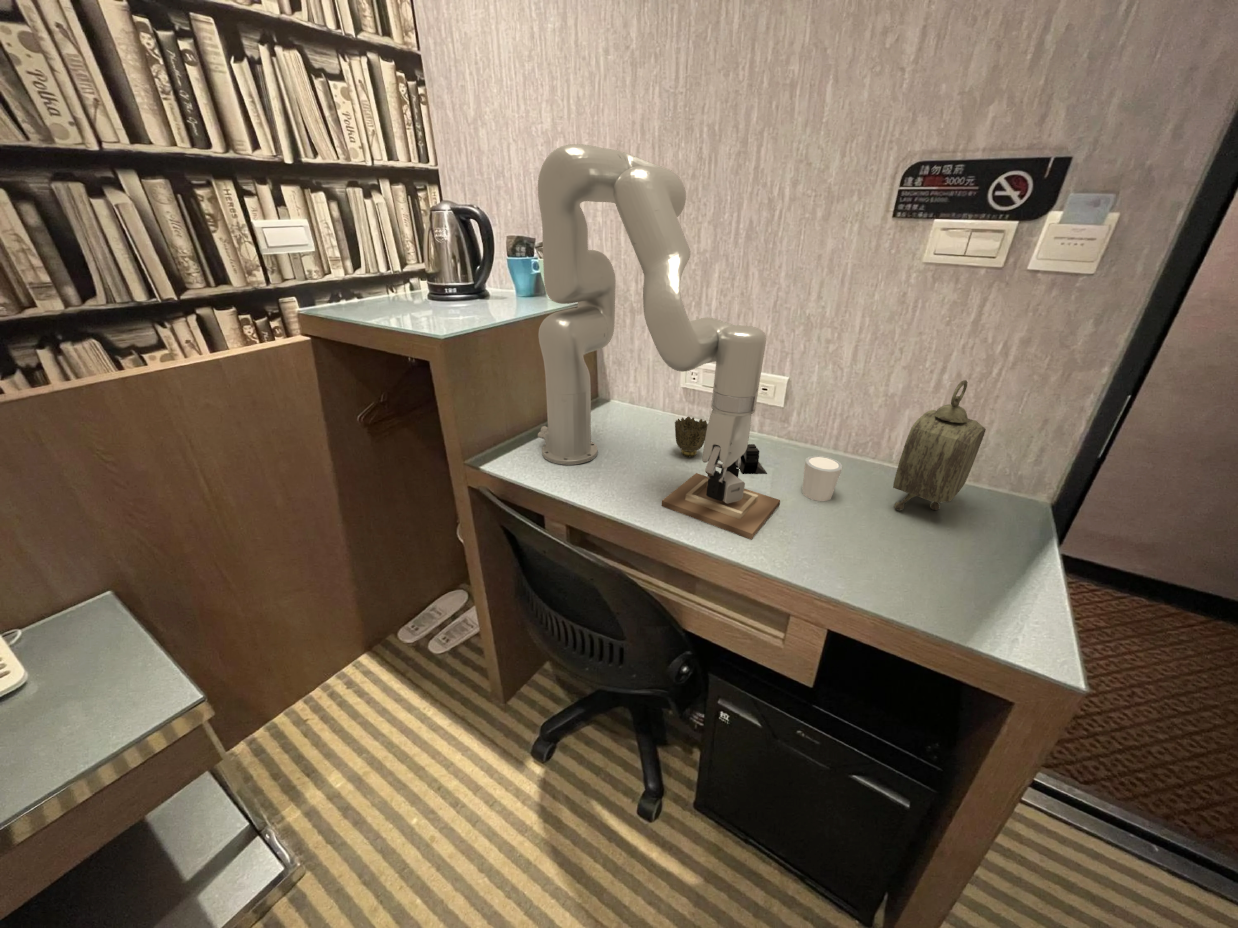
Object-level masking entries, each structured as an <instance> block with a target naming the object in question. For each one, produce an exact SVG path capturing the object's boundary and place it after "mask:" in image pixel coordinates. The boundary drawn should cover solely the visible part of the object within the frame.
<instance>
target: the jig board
mask: <svg viewBox="0 0 1238 928" xmlns="http://www.w3.org/2000/svg"><path fill="white" fill-rule="evenodd" d="M707 485H708V475H707V476H706V475H704V474H701V473H698V472H695V473H694V474H693V475H692V476H691V477H689V478H687V480H685V481H684V482H683V483H682V484H681V485H679V486H678V487H677V488H675V490H673V491H672V492H670V494H668V495H667V496H666V497H664V498H663V499H662V500H661V507H663V508H665V509H668V510H671V511H674V512H676V513H679V514H681V515H684V516H687V517H689V518H692V519H694V520H697V521H701V522H703V523H706V524H709V525H711V526H712V527H713V526H714V527H716V528H719V529H721V530H725V531H727V532H730V533H733V534H735V535H738V536H741V537H743V538H746V539H748V540H752V539H753V538H754V537H755V536H756V535H757V533H758V532H759V531H760V530H761V528H762V527H763V526H764V525H765V523H766V522H767V521H768V520H769V519H770V518H771V516H772V515H773V514H774V513H775V512H776V510H777V509H778V508H779V507H780V503H781V499H779V498H775V497H772V496H770V495H769V496H768V495H766V494H763V493H760V492H756V491H753V490H750V489H747V488H745V487H744V493H743V498H742V499H741V500H739V501H736V502H732V503H728V504H727V503H725V502H724V501H723V500H722V501H719V500H716V499H713V498H710V497H708V496H707V495H706V493H707Z"/></svg>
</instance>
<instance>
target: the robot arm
mask: <svg viewBox="0 0 1238 928" xmlns="http://www.w3.org/2000/svg"><path fill="white" fill-rule="evenodd" d="M541 165H542V166H541V168H540V171H539V175H538V178H537V197H538V199H537V200H538V204H539V211H540V218H541V227H542V229H541V230H542V261H543V264H542V265H543V283H544V289H545V292H546V294H547V297H548V298H549V299H550V300H551V301H553V302H554V303H557V304H561V305H566V304H567V305H568V304H574V303H575V304H576V303H577V307H573V308H568V309H564V310H559V311H556V312H553V313H550V314H549V315H548V316H546V317H545V318H544V319H543V320H542V322H541V323H540V326H539V328H538V343H539V347H540V351H541V355H542V360H543V365H544V374H545V375H544V377H545V391H546V413H547V416H546V417H547V426H546V425H544V426H543V425H542V426H541V428H540V431H539V432H538V433H537V438H540V439H543V440H544V442H545V443H544V445H543V447H542V448H541V452H542V453H541V454H542V457H543V458H544V459H545V460H546V461H549V462H550V463H554V464H556V465H567V466H568V465H569V466H571V465H581V464H584V463H588V462H590V461H592V460H593V459H595V458H596V457H597V455H598V453H599V452H598V446H597V444H596V443H594V442H593V441H592V426H591V425H592V420H591V419H592V417H591V416H592V415H591V413H592V411H591V409H592V403H591V402H592V400H591V399H592V397H591V395H592V394H591V393H592V391H591V388H592V387H591V374H590V371H589V368H588V366H587V364H586V361H585V358H584V356H585V355H587V354H589V353H591V352H592V353H593V352H596V351H599V350H601V349H603V348H605V347H606V346H607V345H608V344H610V342H611V341H612V340H613V339H612V338H613V335H614V331H615V323H616V321H615V318H616V288H617V287H616V284H617V283H616V274H615V270H614V266H613V264H612V262H611V260H610V259H609V257H607V255H606V254H604V253H603V252H601V251H599V250H597V249H596V250H594V249H589V244H588V243H589V242H588V241H589V229H588V223H587V220H586V217H585V214H584V211H583V210H582V207H581V204H582V203H584V202H593V203H611V204H615V207H616V210H617V212H618V215H619V217H620V219H621V222H622V224H623V227H624V229H625V231H626V234H627V236H628V239H629V241H630V243H631V244H630V245H632V248H633V251H634V253H635V256H636V258H637V261H638V262H639V266H640V267H641V270H642V273H643V286H642V300H643V301H642V302H643V303H642V305H643V308H642V309H643V315H644V320H645V324H646V326H647V329H648V331H649V334H650V337H651V339H652V341H653V343H654V346H655V348H656V350H657V352H658V354H659V356H660V357H661V359H662V360H663V362H664V363H665V364H666V365H667V366H668V367H669V368H670V369H672V370H675V371H676V372H688V371H692V370H695V369H697V368H699V367H701V366H703V365H706V364H710V363H714V362H715V370H714V379H713V388H712V397H711V404H710V407H711V409H712V410H711V412H710V415H709V419H708V421H707V424H708V426H707V431H706V437H705V441H704V444H703V450H702V455H701V461H702V462H703V463H707V464H706V466H705V469H704V473H706V474H707V477H708V485H707V493H706V495H707V496H708V497H710V498H713V499H716V500H719V501H722V500H723V498H724V491H725V484H726V481H724V478H725V474H726V472H727V471H729V472H731V473H732V474H733V475H735V476H736V477H738V478H739V475H740V473H739V472H740V470H739V467H740V465H741V456H742V455H743V454H744V453H745V451H746V449H747V445H748V444H749V440H750V433H751V426H752V425H751V423H752V415H753V414H755V412H756V408H757V401H758V395H759V388H760V382H761V375H762V369H763V365H764V364H763V363H764V357H765V356H764V355H765V350H766V344H767V335H766V333H765V331H764V330H762V329H761V328H759V327H755V326H751V325H739V324H737V325H735V324H733V323H729V322H726V321H723V320H720V319H718V318H713V317H702V318H698V319H694V320H691V321H690V319H689V316H688V314H687V311H686V309H685V306H684V304H683V300H682V293H681V282H682V281H681V280H682V276H683V272H684V271H685V268H686V266H687V264H688V263H689V260H690V259H691V248H690V245H689V244H688V242H687V241H688V240H687V239H686V236H685V234H684V232H683V229H682V226H681V224H680V223H681V222H680V221H679V219H678V217H679V216H681V214H682V213H683V210H684V208H685V205H686V200H687V193H686V188H685V184H684V182H683V181H682V179H681V178H680V176H679V175H678V173H676V172H675V171H674V170H671V169H670V168H666V167H663V166H660V165H658V164H655V163H654V162H653V163H652V162H650V161H647V160H645V159H642V158H641V157H637V156H635V155H632V154H631V153H627V152H625V151H621V150H618V149H612V148H605V147H600V146H596V145H592V144H591V145H590V144H583V143H582V144H581V143H573V144H565V145H562V146H559V147H557V148H556V149H554V150H553V151H551V152H550V153H549V155H548V156H547V157H546V158H545V160H544V161H543V163H542V164H541ZM719 462H721V463H719ZM717 468H719V469H721V471H720V472H719V471H717Z"/></svg>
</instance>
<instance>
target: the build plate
mask: <svg viewBox="0 0 1238 928" xmlns="http://www.w3.org/2000/svg"><path fill="white" fill-rule="evenodd" d="M738 469H740V470H739V472H740V474H742V475H768V472H767V471H766V470H765V468H764V467H763V465H762V463H760V449H759V448H758V447H757V445H756V444H754V443H751V444H750V443H748V445H747V449H746V451H745V453H744V454H743V455H742V456H741V465H740V467H739V468H738Z"/></svg>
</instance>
